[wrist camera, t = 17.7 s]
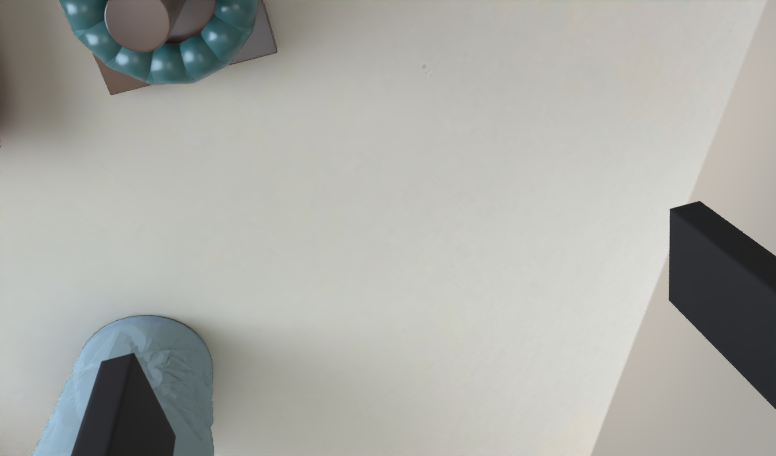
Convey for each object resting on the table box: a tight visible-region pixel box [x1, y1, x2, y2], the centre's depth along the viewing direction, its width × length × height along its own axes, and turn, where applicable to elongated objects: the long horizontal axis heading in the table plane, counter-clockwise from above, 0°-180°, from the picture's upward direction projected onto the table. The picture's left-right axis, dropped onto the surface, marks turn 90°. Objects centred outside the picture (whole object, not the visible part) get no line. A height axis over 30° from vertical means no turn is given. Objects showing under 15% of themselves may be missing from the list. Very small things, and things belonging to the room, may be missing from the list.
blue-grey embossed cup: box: [31, 316, 214, 456], centre depth 40 cm, size 10×10×12 cm
